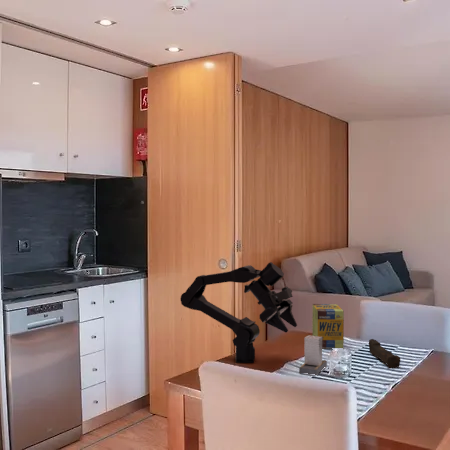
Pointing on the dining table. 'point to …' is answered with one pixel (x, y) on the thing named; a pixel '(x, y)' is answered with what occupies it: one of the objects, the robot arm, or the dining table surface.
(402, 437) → the dining table surface
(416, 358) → the dining table surface
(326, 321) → the protein box
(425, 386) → the dining table surface
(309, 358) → the pale upright block
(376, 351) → the dark brown rod
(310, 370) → the grey gold-striped flat block
